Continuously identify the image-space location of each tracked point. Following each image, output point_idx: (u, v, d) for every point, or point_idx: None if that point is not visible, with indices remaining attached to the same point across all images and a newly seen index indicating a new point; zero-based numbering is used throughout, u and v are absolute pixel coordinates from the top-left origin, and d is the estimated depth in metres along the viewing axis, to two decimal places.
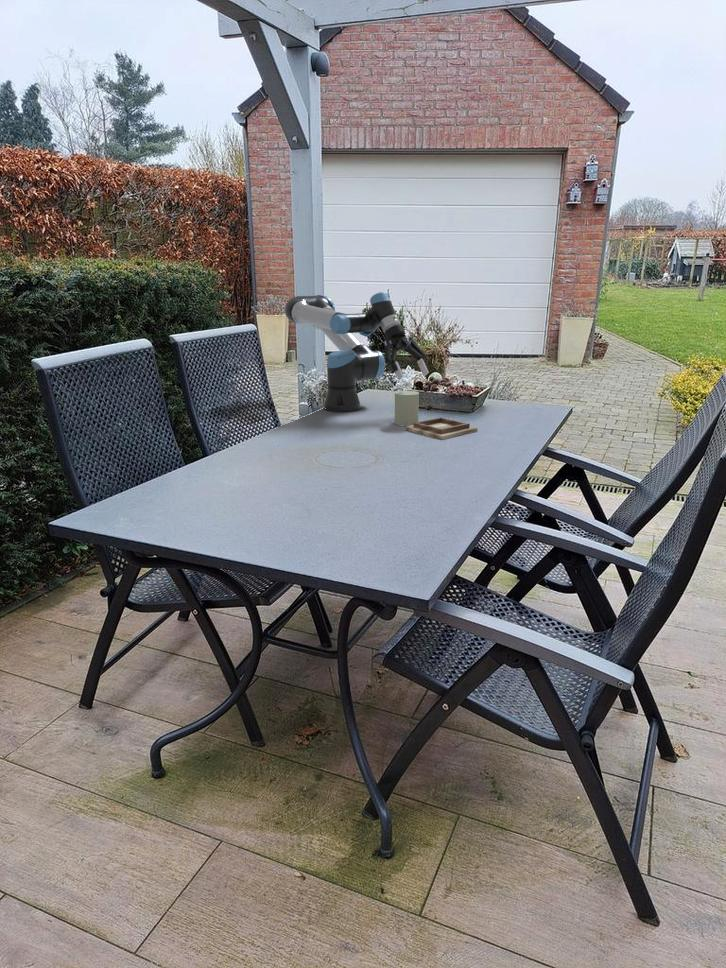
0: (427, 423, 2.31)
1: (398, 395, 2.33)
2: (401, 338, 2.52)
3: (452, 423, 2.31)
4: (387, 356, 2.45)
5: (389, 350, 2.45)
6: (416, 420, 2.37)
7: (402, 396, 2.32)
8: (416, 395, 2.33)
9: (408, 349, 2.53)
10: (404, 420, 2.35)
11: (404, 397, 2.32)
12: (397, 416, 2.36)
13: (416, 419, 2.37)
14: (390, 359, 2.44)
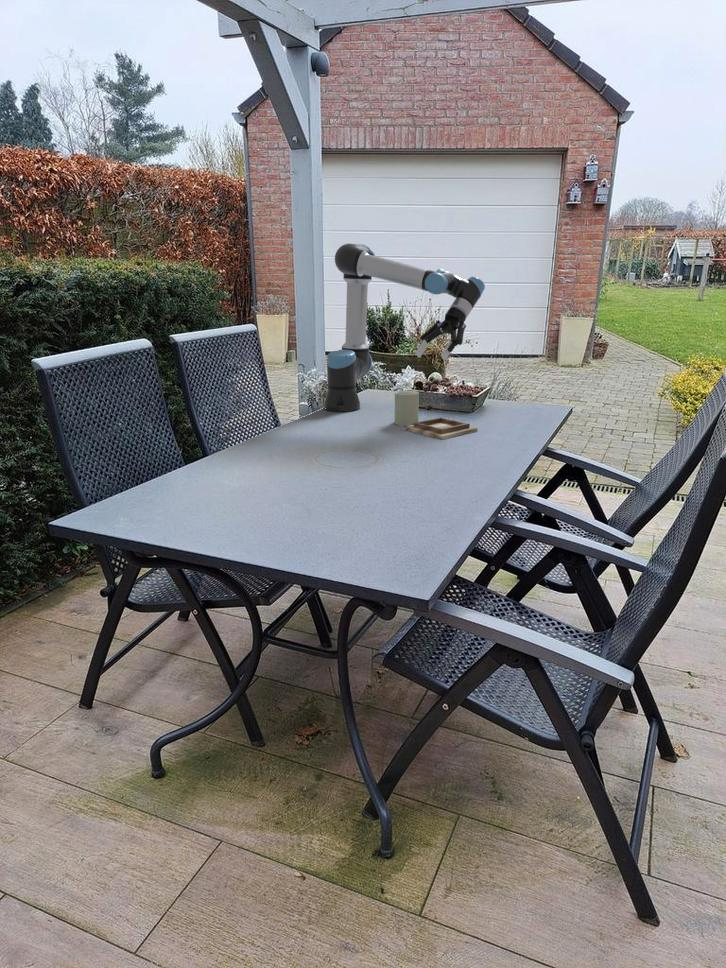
0: (427, 423, 2.31)
1: (398, 395, 2.33)
2: None
3: (452, 423, 2.31)
4: (461, 339, 2.35)
5: None
6: (416, 420, 2.37)
7: (402, 396, 2.32)
8: (416, 395, 2.33)
9: (439, 332, 2.45)
10: (404, 420, 2.35)
11: (404, 397, 2.32)
12: (397, 416, 2.36)
13: (416, 419, 2.37)
14: None
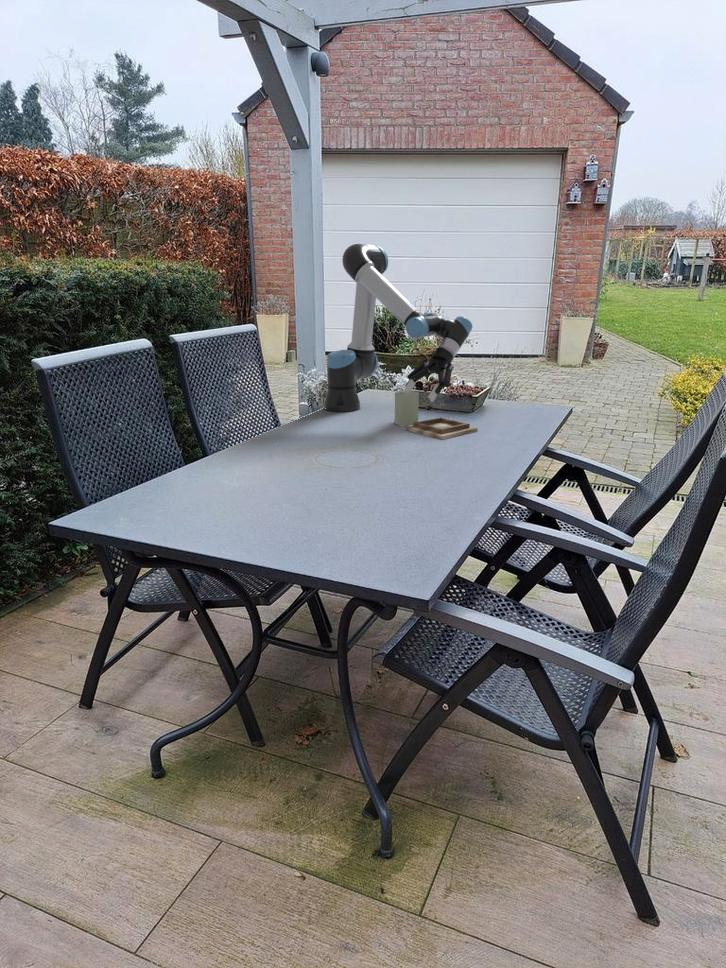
0: (427, 423, 2.31)
1: (398, 395, 2.33)
2: None
3: (452, 423, 2.31)
4: (449, 381, 2.34)
5: None
6: (416, 420, 2.37)
7: (402, 396, 2.32)
8: (416, 395, 2.33)
9: (426, 372, 2.43)
10: (404, 420, 2.35)
11: (404, 397, 2.32)
12: (397, 416, 2.36)
13: (416, 419, 2.37)
14: (447, 386, 2.34)
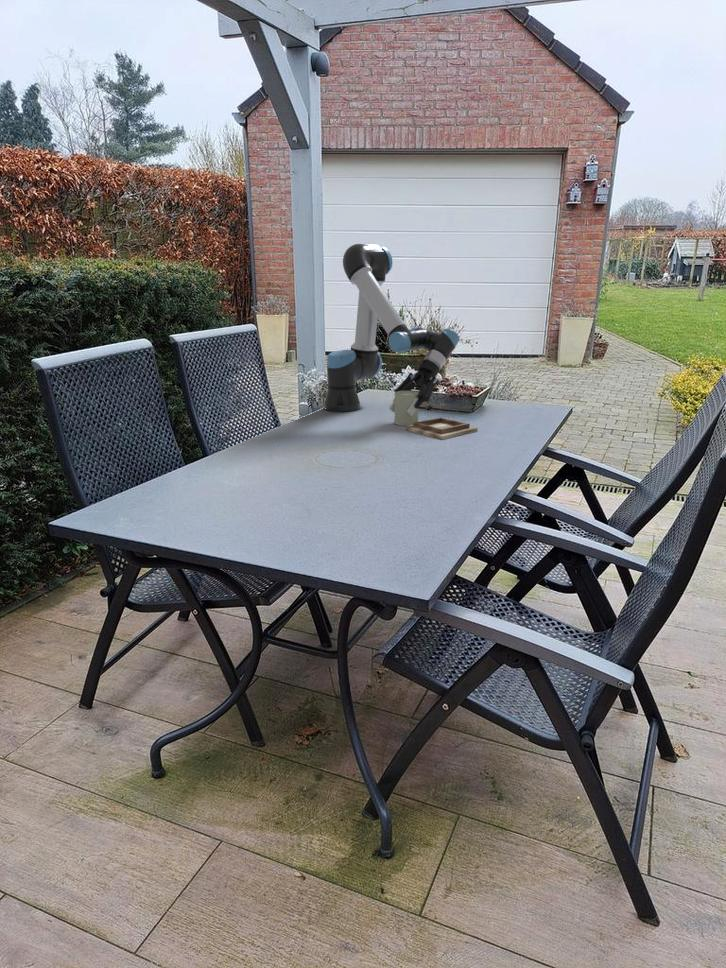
0: (427, 423, 2.31)
1: (398, 395, 2.33)
2: None
3: (452, 423, 2.31)
4: (429, 396, 2.33)
5: None
6: (416, 420, 2.37)
7: (402, 396, 2.32)
8: (416, 395, 2.33)
9: (413, 385, 2.41)
10: (404, 420, 2.35)
11: (404, 397, 2.32)
12: (397, 416, 2.36)
13: (416, 419, 2.37)
14: (426, 400, 2.33)
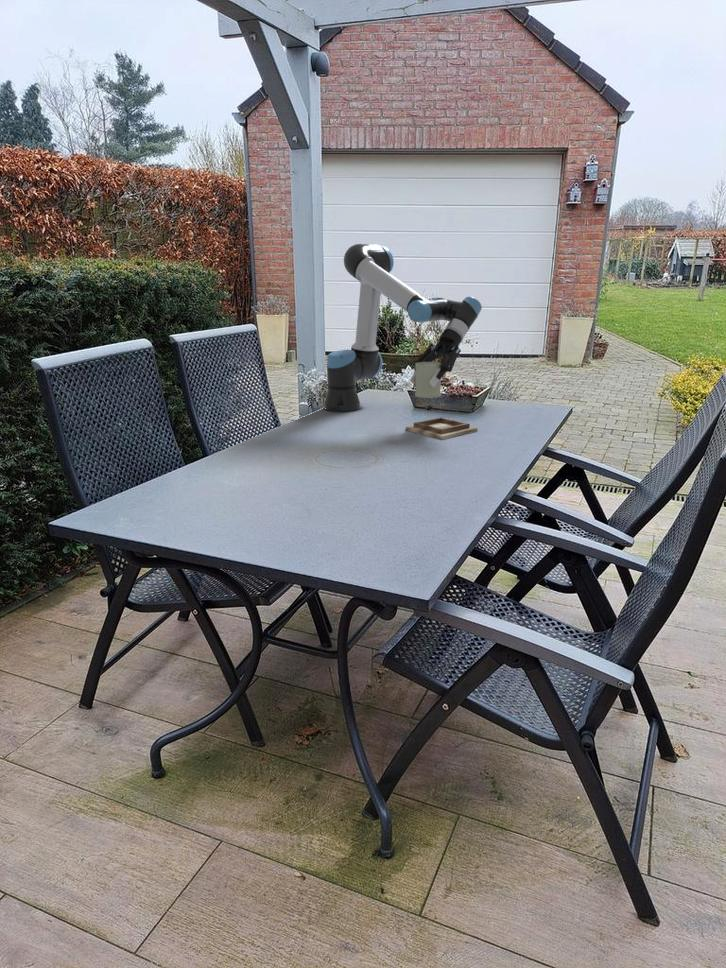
0: (427, 423, 2.31)
1: (419, 365, 2.23)
2: None
3: (452, 423, 2.31)
4: (451, 366, 2.23)
5: None
6: (438, 392, 2.26)
7: (424, 366, 2.22)
8: (438, 365, 2.23)
9: (434, 356, 2.30)
10: (426, 392, 2.25)
11: (426, 367, 2.22)
12: (418, 388, 2.26)
13: (438, 391, 2.26)
14: None
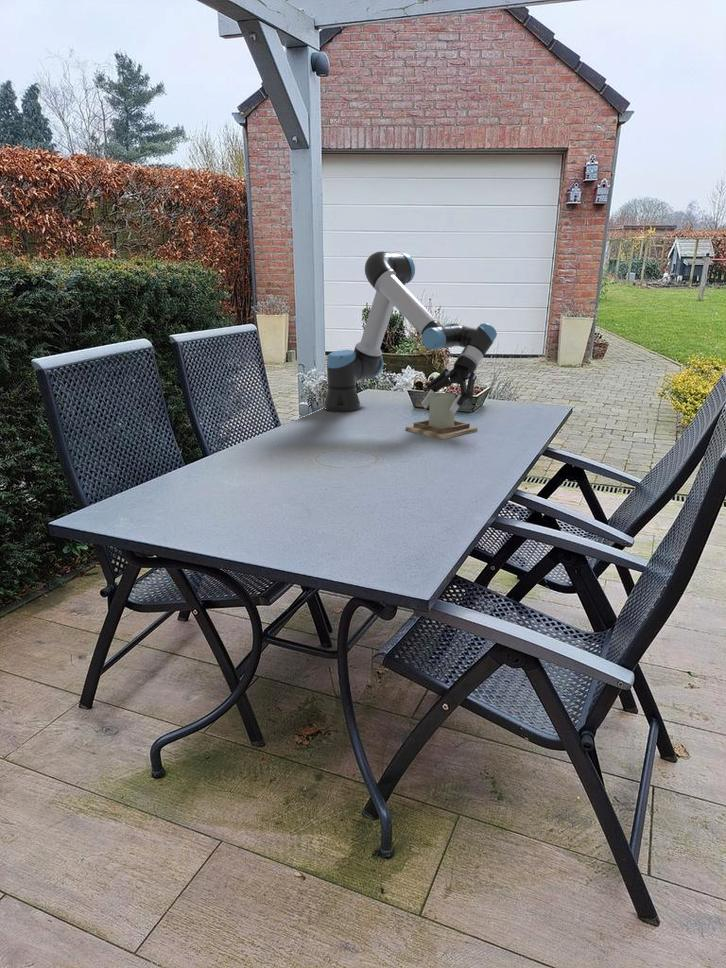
0: (427, 423, 2.31)
1: (434, 397, 2.21)
2: None
3: None
4: (472, 392, 2.19)
5: None
6: (452, 424, 2.25)
7: (438, 399, 2.20)
8: (453, 398, 2.21)
9: (447, 382, 2.29)
10: (439, 424, 2.23)
11: (440, 399, 2.20)
12: (432, 420, 2.24)
13: (452, 423, 2.24)
14: None
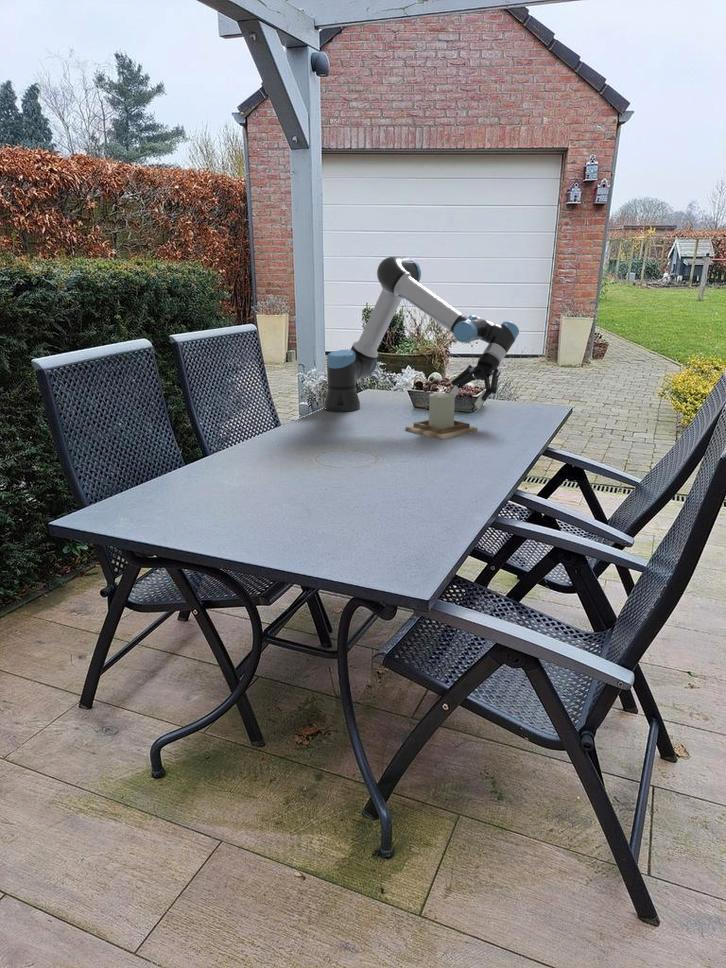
0: (427, 423, 2.31)
1: (433, 398, 2.21)
2: None
3: None
4: (496, 388, 2.27)
5: None
6: (452, 424, 2.25)
7: (438, 399, 2.20)
8: (452, 398, 2.21)
9: (471, 378, 2.37)
10: (439, 424, 2.23)
11: (440, 399, 2.20)
12: (431, 420, 2.24)
13: (452, 423, 2.24)
14: (494, 392, 2.27)
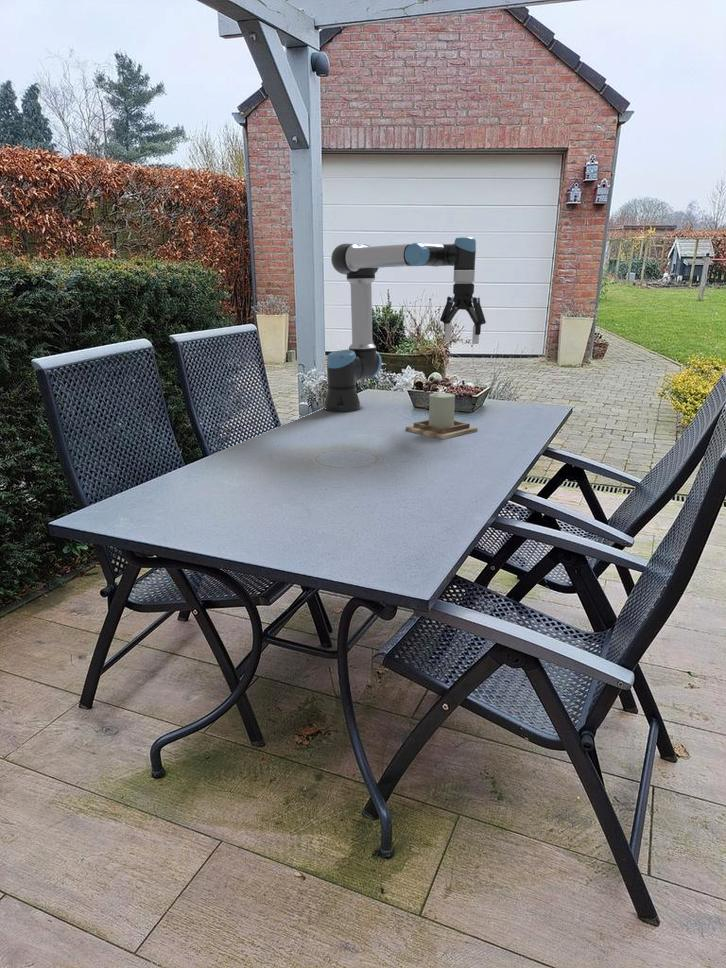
0: (427, 423, 2.31)
1: (433, 398, 2.21)
2: None
3: None
4: (483, 317, 2.29)
5: None
6: (452, 424, 2.25)
7: (438, 399, 2.20)
8: (452, 397, 2.21)
9: (456, 310, 2.37)
10: (440, 424, 2.23)
11: (440, 399, 2.20)
12: (432, 420, 2.24)
13: (452, 423, 2.24)
14: None
